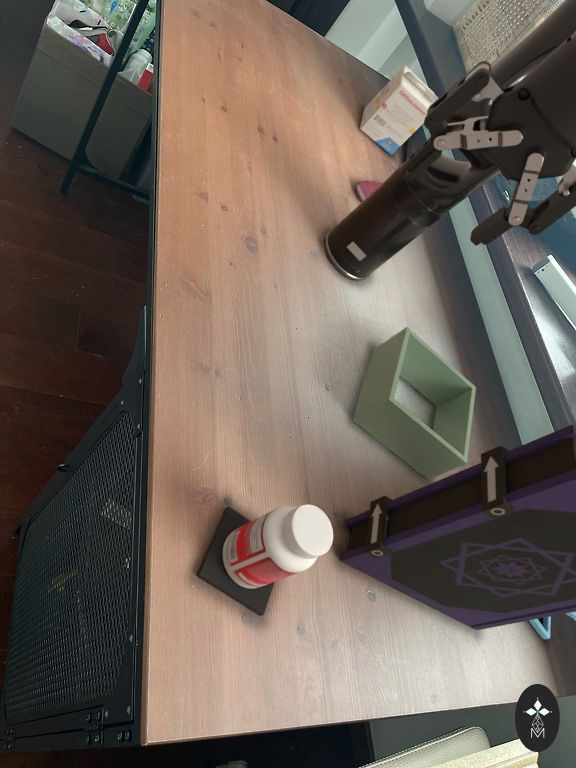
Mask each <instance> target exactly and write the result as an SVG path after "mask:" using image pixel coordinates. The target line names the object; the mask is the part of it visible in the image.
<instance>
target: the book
mask: <svg viewBox="0 0 576 768" xmlns="http://www.w3.org/2000/svg"><path fill="white" fill-rule="evenodd" d="M369 504H370V505H369V509H367V510H365V511H363V512H360V513H357V514H355V515H352V516H350V517H348V518H346V519H344V526H346V527H348V528H350V529H351V536H350V542H349V550H348V551H346V552H343V553H341V554H340V555H339V561H340V562H342V563H345V564H346V565H348V566H350V567H353V568H354V569H355V570H358V571H360V572H362V573H364V574H366V575H368V576H369V577H372V578H373V579H375V580H377V581H379V582H381V583H384V584H385V585H388V586H389V587H391V588H393V589H395V590H397V591H399V592H401V593H403V594H405V595H406V596H409V597H411V598H413V599H415V600H417V601H418V602H421V603H423V604H425V605H426V606H429V607H430V608H432V609H434V610H436V611H439V612H441V613H442V614H444V615H446V616H448V617H450V618H452V619H454V620H456V621H459V622H460V623H462V624H464V625H466V626H467V627H468V626H470V627H471V628H472V629H474V630H476V631H480V630H481V631H482V630H486V629H491V628H496V627H502V626H508V625H513V624H518V623H522V622H529V620H534V619H538V620H539V619H543V618H545V617H550V616H551V617H555V616H560V615H566V613H571V612H576V426H575V425H573V424H570V425H568V426H565V427H563V428H561V429H557V430H555V431H553V432H551V433H548V434H546V435H544V436H543V435H542V436H541V437H538V438H536V439H534V440H532V441H529V442H527V443H525V444H521V445H520V446H517V447H515V448H513V449H510V450H508V449H507V448H506V447H504V446H503V445H499V446H496V447H494V448H491V449H489V450H487V451H485V452H482V453H480V462H479V463H477V464H475V465H472V466H470V467H467V468H465V469H463V470H460V471H458V472H456V473H453V474H451V475H448V476H446V477H443V478H441V479H438V480H436V481H434V482H431V483H429V484H427V485H425V486H422V487H420V488H418V489H417V488H416V489H415V490H412V491H410V492H407V493H406V494H402V495H400V496H398V497H396V498H393V499H392V498H390V497H389V496H387V495H382V496H380V497H378V498H375V499H373V500H371V501H370V503H369Z"/></svg>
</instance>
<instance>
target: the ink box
mask: <svg viewBox="0 0 576 768" xmlns="http://www.w3.org/2000/svg"><path fill="white" fill-rule="evenodd" d="M438 98H439V97H438V96H437V95H436V94H435V92H434V91H433V90H432V89H431V88H430V87H429V86H427V85H426V83H425V82H424V81H422V80H421V79H420V78H419V77H418V76H417V75H416V74H415V72H413V71H412V70H411V69H410V68H409V67H408V66H407V65H405V64H404V65H403V66H402V67H401V68H400V69H399V70H398V71H397V72H396V73H395V74H394V76H393V77H392V78H390V80H389V81H388V82H387V83H386V84H385V85H384V86H383V87H382V88H381V90H380V91H379V92H378V93H377V94H376V95H375V96H374V97H373V99H371V101H370V102H369V103H368V104H367V105H366V106H365V107H364V109H363V112H362V117H361V122H360V125H359V130H360V131H361V132H362V133H364V135H366V136H367V137H369V138H370V139H371V140H372V141H373V142H374V143H376V144H377V145H378V146H379V147H380V148H381V149H383V150H384V151H385V152H387V153H388V155H390V156H393V154H394V153H395V152H396V151H397V150H398V149H399V148H401V146H402V145H403V144H404V143H405V142H407V140H408V138H409V137H410V136H411V135H412V134H413V135H414V133H415V132H417V131H418V129H419V128H421V127H422V125H424V120H425V117H426V115H427V111H428V108H429V106H430V105H431V104H433V103H434V102H435V101H436V100H437V99H438ZM413 135H412V136H413Z"/></svg>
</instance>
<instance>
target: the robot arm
mask: <svg viewBox="0 0 576 768" xmlns="http://www.w3.org/2000/svg"><path fill="white" fill-rule="evenodd" d="M516 82H517V83H516ZM423 125H424V127H425V129H427V130H428V132H429V134H430V137H429V138H428V139H426V141H425V142H423V143H422V144H421V145H420V146H419V147H418V148H417V149H416V150H415V151H414V152H413V153H412V154H411V155H410V148H411V147H410V146H411V142H412V138H413V135H414V133H413V134H412V135H411V136H410V137H409V138H408V139H407V140H406V145H405V152H404V153H405V154H404V162H403V163H402V164H401V165H399V167H398V168H397V169H396V170H394V171H393V173H391V174H390V176H388V177H387V178H386V179H385V180H384V181H383V182H381V183H382V184H381V185H380V186H379V187H378V188H377V189H376V190H375V191H373V192H372V193H371V194H370V195H369V196H368V197H367V198H366V199H365V200H364V201H363V202H362V201H361V203H360V204H358V205H357V206H356V207H355V208H354V209H353V210H351V212H350V213H349V214H348V215H346V217H344V218H342V220H341V221H340V222H339V223H338V224H337V225H336V226H335V227H333V228H332V229H330V230H329V231H328V232H327V233H326V234H325V237H324V240H323V245H324V250H325V253H326V255H327V257H328V259H329V261H330V263H331V264H332V265H333V266H334V268H335V269H336V270H337V271H338V272H339V273H341V274H342V275H343V276H344V277H345V278H347V279H350V280H351V281H355V282H362V281H364V280H366V279H368V278H369V277H370V276H371V275H372V274H373V273H374V272H375V271H377V270H378V269H379V268H380V267H381V266H383V265H384V264H385V263H386V262H388V261H389V260H390V259H392V258H393V257H394V256H395V255H396V254H398V253H399V252H400V251H401V250H403V249H405V247H407V246H408V245H409V244H411V242H413V241H414V240H415V239H417V237H419V236H420V235H421V234H422V233H424V232H425V231H426V230H428V229H429V228H430V227H432V226H433V224H435V223H436V222H437V221H439V220H440V219H441V218H442V217H444V216H445V215H446V214H447V213H449V212H450V211H451V210H452V209H454V208H455V207H457V205H459V204H461V202H463V201H465V199H467V198H468V197H469V196H471V195H472V194H473V193H474V192H475V191H477V190H478V189H480V188H481V187H482V186H484V185H486V184H487V183H488V182H490V181H491V180H492V179H493V178H495V177H497V176H498V175H499V174H501V175H502V176H503V177H504V179H506V180H507V181H510V180H511V181H513V182H515V186H514V189H513V193H512V196H511V200H510V202H509V206H506V205H503V206H501V208H499V209H498V210H497V211H495V212H494V213H492V214H491V215H489V216H488V217H487V218H486V219H484V220H483V221H482V222H480V223H479V224H478V225H476V226H475V227H474V228H473V229H472V230H471V232H470V238H469V241H470V242H471V243H472V244H473V245H474V246H475V247H476V246H479V245H481V244H482V245H483V246H484V245H488V244H491V243H493V242H494V241H495V240H496V239H498V238H499V237H500V236H502V235H504V233H506V232H508V231H509V230H510V229H512V228H513V227H521V228H524V229H526V230H528V233H529V234H530V235H533V236H537V235H540V234H541V233H543V232H544V231H546V230H547V228H549V227H551V226H552V225H553V224H554V223H556V222H557V221H558V220H559V219H561V218H563V216H565V215H566V214H568V213H569V212H570V211H571V210H573V209H574V208H576V166H575V165H574V162H575V161H576V0H564V1H562V2H561V3H560V5H558V6H557V7H556V8H555V9H554V10H553V11H552V12H551V13H550V14H549V15H548V16H547V17H546V18H545V19H544V20H542V22H541V23H539V24H538V25H537V26H536V27H535V28H534V29H533V30H532V31H530V33H529V34H527V35H526V36H525V37H524V38H522V40H520V41H519V42H518V43H517V44H516V45H514V46H513V47H512V48H511V49H510V50H508V52H506V53H505V54H504V55H503V56H502V57H501V58H499V59H498V60H496V61H495V63H494V64H491V63H490V62H489V61H487V60H482V61H480V62H478V63H477V64H476V65H475V66H473V67H472V68H471V69H470V70H469V71H468V72H467V73H465V74H464V75H463V76H462V77H461V78H460V79H459V80H458V81H457V82H455V83H454V84H453V85H452V86H451V87H450V88H448V89H447V90H446V91H445V92H444V93H443V94H442V95H441V96H439V97H438V99H437V100H436V101H435V102H434V103H433V104H431V105H430V106H429V108H428V111H427V115H426V117H425V120H424V123H423ZM454 149H457V150H458V151H459V153H460V154H461V155H462V156H463V157H464V158H465V159H466V161H464V160H458V159H453V158H451V157H449V156H446V155H444V154H443V151H447V150H454ZM409 155H410V156H409ZM561 176H562V178H561V179H560V180H559V181H558V185H557V189H556V190H554V192H553V193H552V194H550V195H549V196H548V197H546V198H545V199H543V200H542V202H540V203H539V204H538V205H536V206H535V207H534V208H532V207H529V203H531V199H532V196H533V194H534V191H535V187H536V184H537V181H538V180H542V179H543V180H544V179H551V178H552V179H553V178H558V177H559V178H560V177H561Z"/></svg>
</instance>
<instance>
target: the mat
mask: <svg viewBox="0 0 576 768" xmlns="http://www.w3.org/2000/svg"><path fill="white" fill-rule="evenodd" d="M251 521H252V520H250V519H248V518H247V517H246V516H245V515H243V514H241V513H239V512H238V511H237V510H235V509H234V508H233V507H231V506H226V507H225V509H224V511H223V514H222V516H221V518H220V521H219V523H218V525H217V526H216V527H217V528H216V530H215V532H214V535H213V537H212V539H211V542H210V544H209V546H208V548H207V551H206V553H205V555H204V558H203V560H202V563H201V565H200V567H199V570H198V572H197V574H196V576H197V578H199V579H200V580H202V581H204V582H206V583H207V584H209V585H211V586H212V587H213V588H215V589H216V590H218V591H220V592H222V593H223V594H225V595H226V596H228V597H230V598H231V599H232V600H234V601H236V602H237V603H238V604H240V605H242V606H244V607H245V608H247V609H249V610H250V611H251V612H253V613H254V614H257V615H258V616H260V617H263V616H264V615H265V612H266V609H267V607H268V603H269V600H270V598H271V595H272V591H273V589H274V585H275V582H276V581H275V582H272V583H270V584H267V585H264V586H262V587H258V588H245V587H242V586H240V585H238V584H237V583H236V582H235V581H234V580H232V578H231V577H230V576H229V574H228V573H227V571H226V568H225V566H224V562H223V546H224V543H225V541H226V539H227V537H228V536H229V535H230V534H231V533H232V532H233V531H234V530H236V529H238V528H240V527H241V526H243V525H245V524H247V523H249V522H251Z"/></svg>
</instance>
